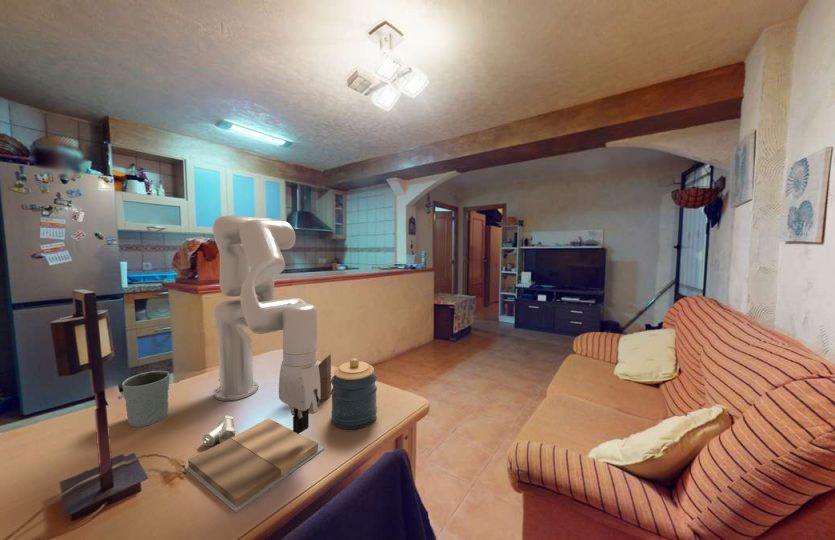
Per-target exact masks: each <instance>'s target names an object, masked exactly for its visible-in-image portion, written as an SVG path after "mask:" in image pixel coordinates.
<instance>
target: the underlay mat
mask: <svg viewBox="0 0 835 540" xmlns="http://www.w3.org/2000/svg"><path fill="white" fill-rule="evenodd" d="M324 450H325V448H324V447H323V446H321V445H319V444H318V450H317V451H315V452H314V453H312V454H311V455H310V456H308V457H307V458H306V459H304V460H303V461H301V462H300V463H299V464H297V465H296V466H295V467H293V468H292V469H290V470H289V471H288V472H286V473H285V474H284V475H282V476H280V478H278V479H277V480H275V481H274V482H272V483H271V484H270V485H268V486H267V487H265V488H264V489H263V490H261V491H260V492H258V493H257V494H255V495H254V496H253V497H251V498H250V499H248V500H247V501H246V502H244V503H243V504H241V505H240V506H238V507H236V506H235V505H234V504H233V503H232V502H230V501H229V500H228V499H227V498H226V497H224V496H223V495H222V494H221V493H220V492H218V491H217V490H216V489H215V488H214V487H212V486H211V485H210V484H209V483H208V482H206V481H205V480H204V479H203V478H202V477H200V476H199V475H198V474H197V473H196V472H194V471H193V470H192V469H191V468H190V467H189V466H188V465H186V466H184V469H185V470H186V471H187V472H188V473H190V475H192V476H193V477H194V478H195V479H196V480H197V481H199V482H200V483H201V484H202V485H203V486H205V487H206V488H207V489H208V490H209V491H210V492H211V493H212V494H214V495H215V496H216V497H217V498H219V500H221V501H222V502H223V503H224V504H226V505H227V506H228V507H229V508H231V510H232V511H234V512H235V513H238V512H239V511H241V510H242V509H243V508H245V507H246V506H248V504H250V503H252V502H253V501H254V500H256V499H257V498H258V497H260V496H261V495H263V494H264V493H265V492H267V491H268V490H270V489H271V488H272V487H274V486H276V485H277V484H278V483H279V482H280V481H282V480H284V479H285V478H286V477H288V476H289V475H290V474H292V473H293V472H295V471H296V470H297V469H299V468H300V467H301V466H303V465H304V464H306V463H307V462H308V461H310V460H311V459H312V458H315V456H317V455H319V453H321V452H323V451H324Z"/></svg>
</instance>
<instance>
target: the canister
mask: <svg viewBox="0 0 835 540" xmlns="http://www.w3.org/2000/svg"><path fill="white" fill-rule="evenodd" d="M333 374H334V375H333V376H331V386H332V388H331V415H330V416H331V419H332V423H333V424H334V425H335V426H336V428H337V427H338V428H340V429H344V430H357V429H358V430H359V429H362V428H366V427H367V426H369V425H371V424H372V423H373V422H375V420H376V417H377V412H378V407H377V390H378V387H377V385H376V381H377V379H378V376H377V374H376V373H375V368H374V366H372V365H371V364H369V363H368V362H365V361H359V359H358V358H354V357H353V358H350V361H348V362H344V363H342V364H340V365H339V366H338V367H336V368H335V370H334V371H333Z"/></svg>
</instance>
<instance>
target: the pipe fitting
mask: <svg viewBox="0 0 835 540" xmlns="http://www.w3.org/2000/svg"><path fill="white" fill-rule="evenodd" d="M234 423H235V422H234V417H233V416H231V415H223V416H222V417H221V418H220V419H219V420H218V423H217V425H216V426H214V427H213V428H212V429H210V430H209V431H208V432H206V433H205V434H203V437H202V445H203V446H209V447H214V446H215V444H217V443H218V442H219V444H220V443H222V442H224V441H226V440H228V439H230V438H232V437H234V436H236V433H235V426H234V425H235V424H234Z"/></svg>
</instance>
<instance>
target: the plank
mask: <svg viewBox="0 0 835 540" xmlns="http://www.w3.org/2000/svg"><path fill="white" fill-rule="evenodd" d="M231 439H232V440H234V441H235V442H237V443H239V444H240V445H242V446H243V447H245V448H246V449H248V450H250V451H251V452H253V453H254V454H256V455H257V456H259V457H261V458H262V459H264V460H265V461H267V462H268V463H270V464H272V465H273V466H275V467H276V468H278V469H279V470H280V476H282V475H284V474H285V473H286V472H288V471H289V470H290V469H292V468H293V467H295V466H296V465H297V464H299V463H300V462H301V461H303V460H304V459H306V458H307V457H308V456H310V455H311V454H312V453H314V452H315V451H317V450H318V445H319V443H318V442H317V441H315V440H313V439H311V438H308V437H307V436H305V435H304V434H301V433H299V434H297V433H296V432H293V429H291V428H289V427H287V426H285V425H283V424H281V423H279V422H277V421H275V420H274V419H272V418H268V417H267V418H266V419H265V420H262V421H261V422H259V423H257V424H255V425H253V426H251V427H249V428H247V429H245V430H244V431H241V432H239V433H238V434H235V436H234V437H232V438H231Z"/></svg>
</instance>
